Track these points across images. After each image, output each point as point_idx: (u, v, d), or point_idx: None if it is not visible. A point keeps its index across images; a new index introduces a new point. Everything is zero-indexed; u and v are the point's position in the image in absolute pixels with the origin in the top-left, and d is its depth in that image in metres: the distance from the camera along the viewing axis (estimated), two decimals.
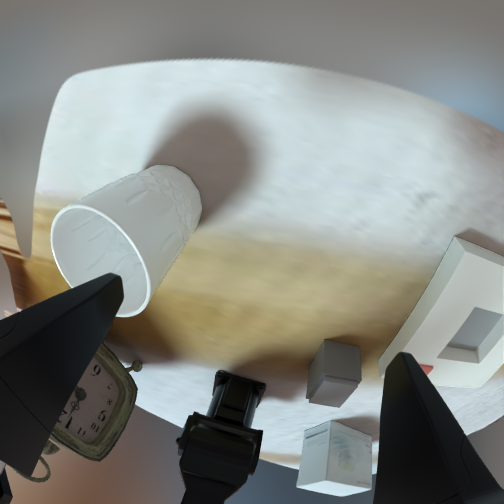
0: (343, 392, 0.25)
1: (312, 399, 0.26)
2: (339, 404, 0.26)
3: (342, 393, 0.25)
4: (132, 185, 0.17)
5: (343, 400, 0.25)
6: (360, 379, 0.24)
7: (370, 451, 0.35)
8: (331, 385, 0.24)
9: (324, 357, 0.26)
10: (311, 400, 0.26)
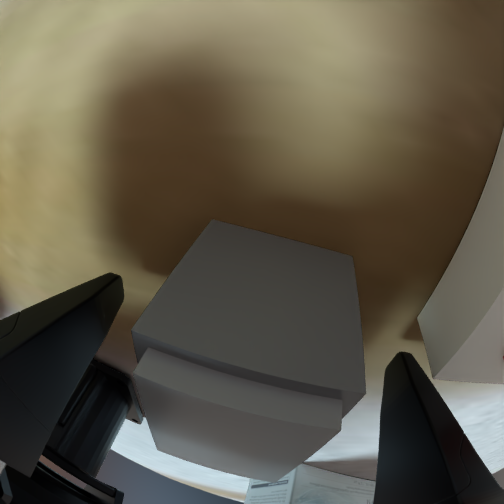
0: (268, 447, 0.05)
1: (159, 444, 0.06)
2: (271, 476, 0.06)
3: (265, 450, 0.05)
4: None
5: (281, 469, 0.05)
6: (359, 387, 0.04)
7: None
8: (186, 407, 0.04)
9: (180, 268, 0.06)
10: (158, 445, 0.06)
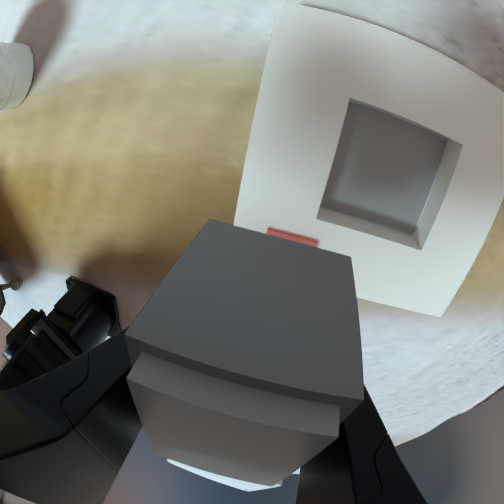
0: (265, 452, 0.04)
1: (155, 447, 0.06)
2: (268, 480, 0.06)
3: (262, 455, 0.05)
4: None
5: (279, 474, 0.05)
6: (357, 393, 0.04)
7: None
8: (181, 413, 0.04)
9: (175, 272, 0.06)
10: (154, 448, 0.06)
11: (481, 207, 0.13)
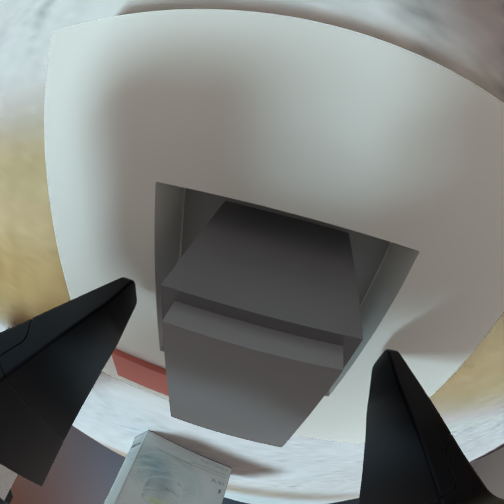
0: (279, 396, 0.06)
1: (174, 408, 0.07)
2: (278, 438, 0.07)
3: (275, 400, 0.06)
4: None
5: (289, 427, 0.06)
6: (357, 334, 0.05)
7: (220, 490, 0.23)
8: (207, 354, 0.05)
9: (200, 239, 0.07)
10: (172, 410, 0.07)
11: (446, 345, 0.08)
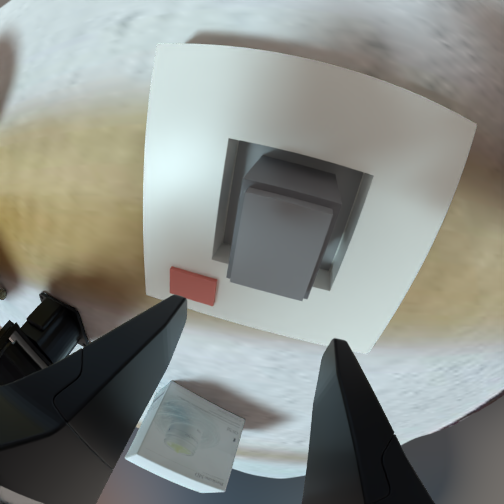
0: (301, 239, 0.11)
1: (234, 270, 0.13)
2: (300, 288, 0.13)
3: (299, 243, 0.12)
4: None
5: (307, 272, 0.12)
6: (338, 202, 0.11)
7: (235, 439, 0.29)
8: (266, 210, 0.11)
9: (255, 167, 0.13)
10: (233, 272, 0.13)
11: (405, 245, 0.14)
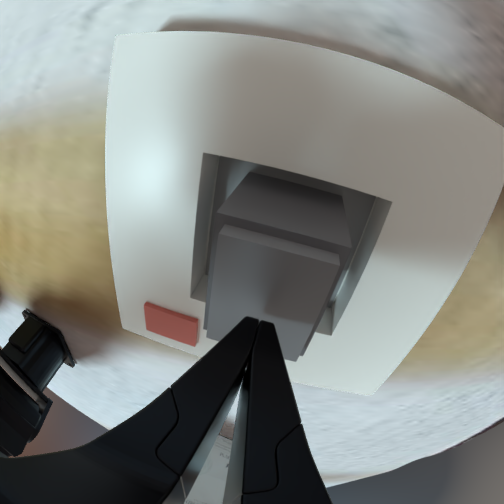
0: (296, 295, 0.08)
1: (211, 325, 0.10)
2: (294, 349, 0.10)
3: (293, 300, 0.09)
4: None
5: (303, 333, 0.09)
6: (348, 245, 0.08)
7: (228, 464, 0.26)
8: (248, 258, 0.08)
9: (237, 191, 0.10)
10: (209, 328, 0.10)
11: (425, 285, 0.11)
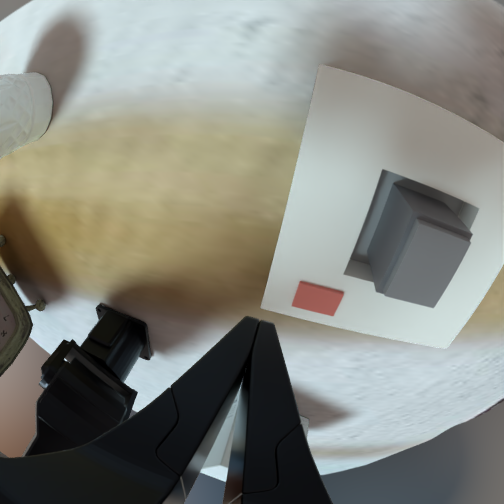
0: (447, 260, 0.12)
1: (392, 286, 0.14)
2: (435, 298, 0.14)
3: (445, 264, 0.12)
4: None
5: (444, 286, 0.13)
6: (470, 232, 0.12)
7: None
8: (430, 238, 0.12)
9: (405, 197, 0.14)
10: (390, 288, 0.14)
11: (489, 260, 0.15)
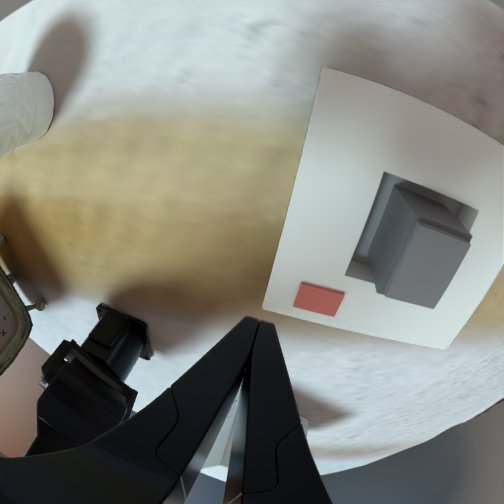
0: (447, 262, 0.13)
1: (392, 287, 0.14)
2: (435, 299, 0.14)
3: (445, 265, 0.13)
4: None
5: (444, 287, 0.13)
6: (470, 234, 0.12)
7: None
8: (431, 240, 0.12)
9: (406, 200, 0.14)
10: (390, 289, 0.14)
11: (489, 262, 0.15)
